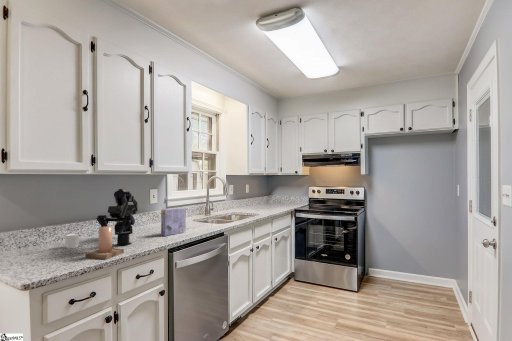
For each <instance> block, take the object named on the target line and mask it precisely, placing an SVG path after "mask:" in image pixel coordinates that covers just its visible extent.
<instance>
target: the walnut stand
mask: <svg viewBox="0 0 512 341" xmlns="http://www.w3.org/2000/svg"><path fill="white" fill-rule="evenodd" d="M124 250H125V249H124V248H113V247H112V251H111V252H106V253H99V249H96V250H93V251H90V252H86V253H85V259H87V258H88V259H94V260H95V259H97V260H109V259H111V258H114V257H117V256H119V255H122V254H124V252H125V251H124Z"/></svg>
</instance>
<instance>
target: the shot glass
mask: <svg viewBox="0 0 512 341" xmlns="http://www.w3.org/2000/svg"><path fill="white" fill-rule="evenodd" d="M64 239H65V248H66V249H76V248H78V247H79V240H80V233H69V234H65V235H64Z"/></svg>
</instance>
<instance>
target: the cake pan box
mask: <svg viewBox="0 0 512 341" xmlns="http://www.w3.org/2000/svg"><path fill="white" fill-rule="evenodd" d="M186 209H187V208H186V207H179V208H177V207H176V208H166V209H165V208H164V209H161V210H160V211H161V212H160V221H161V222H160V235H161V236H163V237H167V236H168V235H169V236H174V235H179V234H184V233H183V232H185V233H186V220H187V219H186ZM178 233H179V234H178ZM173 234H174V235H173ZM169 236H168V237H169Z"/></svg>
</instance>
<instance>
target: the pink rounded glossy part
mask: <svg viewBox="0 0 512 341" xmlns="http://www.w3.org/2000/svg"><path fill="white" fill-rule="evenodd" d="M112 248H113V226H111V225H108V226H104V227H101V226H99V227H98V250H99V253H106V252H111V251H112Z"/></svg>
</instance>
